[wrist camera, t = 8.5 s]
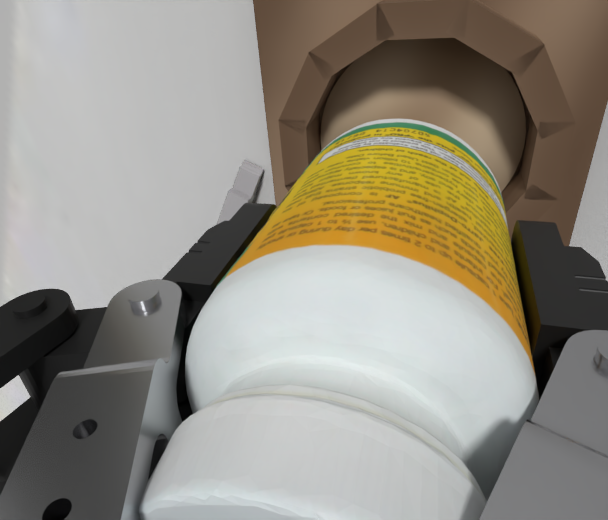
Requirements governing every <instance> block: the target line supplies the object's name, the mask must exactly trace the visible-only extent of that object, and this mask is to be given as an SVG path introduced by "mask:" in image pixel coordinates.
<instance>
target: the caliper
mask: <svg viewBox="0 0 608 520" xmlns="http://www.w3.org/2000/svg"><path fill="white" fill-rule="evenodd" d="M263 172H264V169H262V168H260V167H258V166H256V165H254V164H252V163H250V162H248V161H246V160H244V161H243V163H242V165H241V167H240V168H239V171H238V174H237V177H236V180H235V182H234V185H233V188H232V189H230V190H229V191H228V194H227V197H226V199H225V202H224V205H223V208H222V211H221V213H220V216H219V219H218V222H217V224H219V223H221V222H223V221H229V220H230V219H231V218H232V217H233V216H234V215H235V213H236V212H237V211H238V210H239V209H240V208H241V207H242V206H243V204H245V203H253V202H254V199H255V196H256V190H257V187H258V185H259V182H260V180H261V177H262V174H263Z"/></svg>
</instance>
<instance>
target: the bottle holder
mask: <svg viewBox="0 0 608 520" xmlns="http://www.w3.org/2000/svg"><path fill="white" fill-rule="evenodd" d="M253 4H254V13H255V22H256V31H257V40H258V49H259V58H260V66H261V75H262V84H263V93H264V102H265V111H266V120H267V129H268V138H269V147H270V156H271V165H272V174H273V183H274V192H275V201H276V206H277V207H278V206H279V204H280V203H281V201H282V200H283V199H284V197H285V196H286V195H287V193H288V192H289V191H290V189H291V188H292V187H293V185H294V184H295V183H296V181H297V180H298V178H299V177H300V176H301V175H302V174H303V172H304V171H305V169H306V168H307V167H308V166H309V165H310V163H311V162H312V161H313V160H314V158H315V157H316V156H317V155H318V154H319V153H320V152H321V151H322V150H323V149H324V148H325V147H326V146H327V145H328V144H329V143H330V142H332V141H333V140H334V139H336V138H337V137H338V136H340V135H342V134H343V133H345V132H347V131H348V130H350V129H352V128H354V127H356V126H359V125H362V124H364V123H367V122H371V121H376V120H382V119H412V120H417V121H422V122H426V123H430V124H433V125H436V126H438V127H441V128H443V129H445V130H447V131H449V132H451V133H453V134H454V135H456V136H458V137H459V138H461V139H462V140H463V141H465V142H466V143H467V144H468V145H469V146H470V147H472V148H473V149H474V150H475V151H476V152H477V153H478V154H479V156H480V157H481V158H482V159H483V160H484V162H485V163H486V164H487V166H488V167H489V169H490V170H491V172H492V173H493V175H494V177H495V179H496V181H497V183H498V186H499V188H500V191H501V195H502V198H503V202H504V207H505V212H506V218H507V225H508V230H509V236H510V241H511V239H512V234H513V229H514V225H515V223H516V221H517V220H525V221H541V222H555V223H556V225H557V228H558V230H559V233H560V236H561V239H562V242H563V245H564V246H569V243H570V239H571V236H572V232H573V228H574V224H575V221H576V217H577V213H578V209H579V206H580V202H581V198H582V195H583V191H584V187H585V183H586V180H587V176H588V172H589V168H590V165H591V161H592V157H593V153H594V150H595V146H596V142H597V139H598V135H599V131H600V127H601V124H602V120H603V116H604V112H605V109H606V105H607V101H608V0H253Z"/></svg>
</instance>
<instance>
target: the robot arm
mask: <svg viewBox="0 0 608 520" xmlns="http://www.w3.org/2000/svg"><path fill="white" fill-rule="evenodd" d="M276 208H277V206H276V205H274V204H258V203H245V204H243V206H242V207H241V208H240V209H239V210H238V211H237V212H236V213H235V215H234V216H233V217H232V218H231V219H230V220H229V221H223V222H221V223H219V224H217V225H215V226H214V227H212V228H210V229H208V230H207V231H206V232H205V233H204V234H203V236H202V237H201V238H200V239H199V240H198V243H195V244H194V245H193V246H192V247H191V249H190V250H189V253H186V254H185V255H184V256H183V257H182V258H181V259H180V260H179V262H178V263H177V264H176V265H175V266H174V267H173V268H172V269H171V270H170V271H169V272H168V273H167V275H166V276H165V277H164V278H163V279H162V280H160V279H156V280H147V281H142V282H139V283H136V284H133V285H131V286H128V287H126V288H125V289H123V290H121V291H120V292H118V293H117V294H116V295H115V296H114V297H113V298H112V299H111V301H110V302H109V304H108V307H104V308H93V309H83V310H75V308H74V306H73V303H72V301H71V299H70V296H69V295H68V293H66V292H65V291H63V290H59V289H42V290H37V291H33V292H29V293H26V294H24V295H21V296H19V297H17V298H15V299H13V300H11V301H9V302H8V303H6V304H4V305H3V306H1V307H0V388H1V387H3V386H4V385H5V384H7V383H8V382H9V381H11V380H12V379H13V378H15V377H16V376H17V375H19V376H20V378H21V380H22V382H23V383H24V385H25V387H26V389H27V391H28V393H29V395H30V396H31V397H30V398H29V399H28V400H27V401H25V402H24V403H23V404H22V405H20V406H19V407H18V408H17V409H15V410H14V411H13V412H12V413H10V414H9V415H8V416H7V417H5V418H4V419H3V420H2V421H1V422H0V520H141V518H140V515H139V506H140V503H141V500H142V497H143V494H144V491H145V489H146V486H147V483H148V480H149V478H150V477H151V475H152V473H153V471H154V469H155V467H156V466H157V464H158V462H159V460H160V458H161V456H162V454H163V453H164V451H165V449H166V447H167V445H168V443H169V441H170V439H171V437H172V435H173V434H174V432H175V430H176V429H177V428H178V427H179V426H180V425H181V423H182V422H183V421H185V420H186V419H187V418H188V417H189V416H191V415H192V414H193V412H192V409H191V406H190V402H189V399H188V395H187V389H186V380H185V358H186V351H187V345H188V341H189V338H190V335H191V332H192V328H193V326H194V324H195V321H196V319H197V317H198V315H199V313H200V311H201V309H202V308H203V306H204V305H205V303H206V302H207V300H208V299H209V297H210V296H211V294H212V293H213V291H214V289H215V288H216V286H217V285H218V283H219V282H220V281H221V280H222V278H223V277H224V276H225V275H226V273H227V272H228V271H229V269H230V268H231V267H232V266H233V264H234V263H235V262H236V261H237V260H238V258H239V257H240V256H241V255H242V253H243V252H244V251H245V250H246V248H247V247H248V246H249V244H250V243H251V242H252V241H253V239H254V238H255V236H256V235H257V233H258V232H259V231H260V229H261V228H262V227H263V226H264V225H265V223H266V222H267V221H268V219H269V218H270V216H271V214H272V213H273V211H274V210H275V209H276ZM511 247H512V253H513V258H514V263H515V269H516V275H517V281H518V286H519V292H520V297H521V302H522V307H523V312H524V318H525V323H526V328H527V333H528V339H529V344H530V350H531V355H532V361H533V366H534V371H535V376H536V382H537V388H538V394H539V403H538V405H537V408H536V410H535V412H534V414H533V416H532V418H531V420H528V419H527V420H526V421H525V423H524V425H523V426H522V428H521V430H520V433H519V435H518V437H517V439H516V441H515V443H514V445H513V448H512V450H511V452H510V454H509V456H508V458H507V460H506V463H505V465H504V467H503V469H502V471H501V473H500V476H499V478H498V480H497V482H496V484H495V486H494V488H493V491H492V493H491V495H490V497H489V499H488V501H487V503H486V506H485V508H484V510H483V512H482V514H481V516H480V519H479V520H608V282H607V281H606V280H605V278H606V277H605V275H604V273H603V270H602V268H601V266H600V264H599V262H598V261H597V260H596V259H595V258H593V257H592V256H591V255H590V254H589V253H587V252H586V251H585V250H584V249H583V248H581V247H570V246H564V245H563V242H562V239H561V236H560V233H559V230H558V228H557V225H556V223H555V222H541V221H525V220H517V221H516V223H515V225H514V229H513V234H512V239H511Z"/></svg>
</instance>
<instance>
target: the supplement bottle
mask: <svg viewBox="0 0 608 520" xmlns="http://www.w3.org/2000/svg"><path fill="white" fill-rule="evenodd" d="M185 380H186V389H187V395H188V399H189V402H190V406H191V409H192V412H193V414H192V415H191V416H189V417H188V418H187V419H186V420H185V421H183V422H182V423H181V425H180V426H179V427H178V428H177V429H176V430H175V432H174V434H173V435H172V437H171V439H170V441H169V443H168V445H167V447H166V449H165V451H164V453H163V454H162V456H161V458H160V460H159V462H158V464H157V466H156V467H155V469H154V471H153V473H152V475H151V477H150V478H149V480H148V483H147V486H146V489H145V491H144V494H143V497H142V500H141V503H140V506H139V515H140V518H141V520H479V519H480V516H481V514H482V512H483V510H484V508H485V506H486V503H487V501H488V499H489V497H490V495H491V493H492V491H493V488H494V486H495V484H496V482H497V480H498V478H499V476H500V473H501V471H502V469H503V467H504V465H505V463H506V460H507V458H508V456H509V454H510V452H511V450H512V448H513V445H514V443H515V441H516V439H517V437H518V435H519V433H520V430H521V428H522V426H523V425H524V423H525V421H526V420H527V419H528V420H531V418H532V416H533V414H534V412H535V410H536V408H537V405H538V403H539V394H538V388H537V382H536V376H535V371H534V366H533V361H532V355H531V350H530V344H529V339H528V333H527V328H526V323H525V318H524V312H523V307H522V302H521V297H520V292H519V286H518V281H517V275H516V269H515V263H514V258H513V253H512V247H511V241H510V236H509V230H508V225H507V218H506V212H505V207H504V202H503V198H502V195H501V191H500V188H499V186H498V183H497V181H496V179H495V177H494V175H493V173H492V172H491V170H490V169H489V167H488V166H487V164H486V163H485V162H484V160H483V159H482V158H481V157H480V156H479V154H478V153H477V152H476V151H475V150H474V149H473V148H472V147H470V146H469V145H468V144H467V143H466V142H465V141H463V140H462V139H461V138H459V137H458V136H456V135H454V134H453V133H451V132H449V131H447V130H445V129H443V128H441V127H438V126H436V125H433V124H430V123H426V122H422V121H417V120H412V119H382V120H376V121H371V122H367V123H364V124H362V125H359V126H356V127H354V128H352V129H350V130H348V131H347V132H345V133H343V134H342V135H340V136H338V137H337V138H336V139H334V140H333V141H332V142H330V143H329V144H328V145H327V146H326V147H325V148H324V149H323V150H322V151H321V152H320V153H319V154H318V155H317V156H316V157H315V158H314V160H313V161H312V162H311V163H310V165H309V166H308V167H307V168H306V169H305V171H304V172H303V174H302V175H301V176H300V177H299V178H298V180H297V181H296V183H295V184H294V185H293V187H292V188H291V189H290V191H289V192H288V193H287V195H286V196H285V197H284V199H283V200H282V201H281V203H280V204H279V206H278V207H277V208H276V209H275V210H274V211H273V213H272V214H271V216H270V218H269V219H268V221H267V222H266V223H265V225H264V226H263V227H262V228H261V229H260V231H259V232H258V233H257V235H256V236H255V238H254V239H253V241H252V242H251V243H250V244H249V246H248V247H247V248H246V250H245V251H244V252H243V253H242V255H241V256H240V257H239V258H238V260H237V261H236V262H235V263H234V264H233V266H232V267H231V268H230V269H229V271H228V272H227V273H226V275H225V276H224V277H223V278H222V280H221V281H220V282H219V283H218V285H217V286H216V288H215V289H214V291H213V293H212V294H211V296H210V297H209V299H208V300H207V302H206V303H205V305H204V306H203V308H202V309H201V311H200V313H199V315H198V317H197V319H196V321H195V324H194V326H193V328H192V332H191V335H190V338H189V341H188V345H187V351H186V358H185Z"/></svg>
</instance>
